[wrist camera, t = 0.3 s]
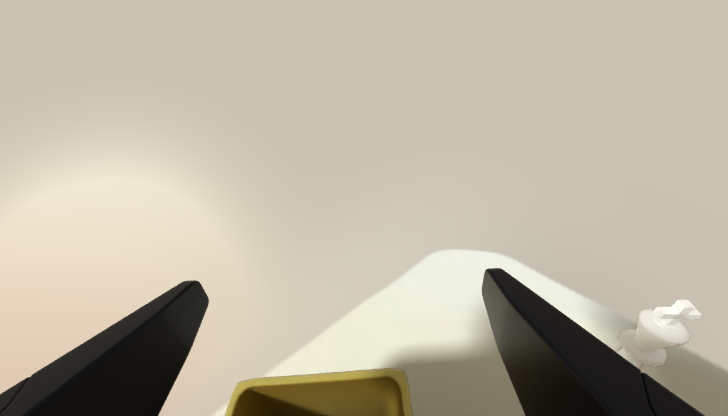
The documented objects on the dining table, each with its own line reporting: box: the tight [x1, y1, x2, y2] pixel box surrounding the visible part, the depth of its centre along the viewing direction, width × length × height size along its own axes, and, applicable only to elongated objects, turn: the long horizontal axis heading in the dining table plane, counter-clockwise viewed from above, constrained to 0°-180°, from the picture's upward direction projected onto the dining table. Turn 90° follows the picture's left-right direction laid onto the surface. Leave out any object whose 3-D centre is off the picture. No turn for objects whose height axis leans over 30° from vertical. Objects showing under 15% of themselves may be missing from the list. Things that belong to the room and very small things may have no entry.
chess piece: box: [617, 300, 702, 368], centre depth 16 cm, size 5×5×10 cm
